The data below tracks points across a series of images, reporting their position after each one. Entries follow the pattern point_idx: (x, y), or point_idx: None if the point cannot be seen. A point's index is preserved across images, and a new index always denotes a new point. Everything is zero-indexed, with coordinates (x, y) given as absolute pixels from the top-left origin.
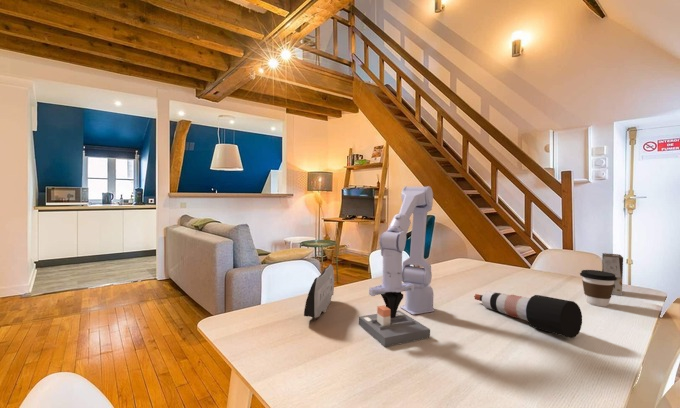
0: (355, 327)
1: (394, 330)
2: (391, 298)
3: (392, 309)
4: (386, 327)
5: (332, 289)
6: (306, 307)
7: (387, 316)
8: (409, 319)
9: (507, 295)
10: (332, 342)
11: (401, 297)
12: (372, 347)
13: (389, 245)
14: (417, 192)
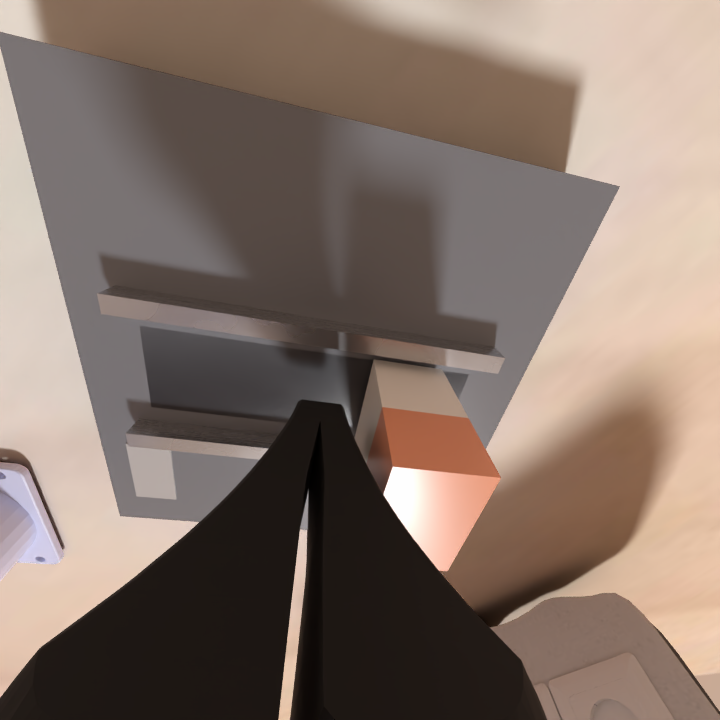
0: None
1: (414, 264)
2: (496, 694)
3: (350, 463)
4: (436, 339)
5: None
6: (688, 670)
7: (419, 412)
8: (125, 371)
9: None
10: (701, 408)
11: (106, 672)
12: (622, 237)
13: None
14: None
